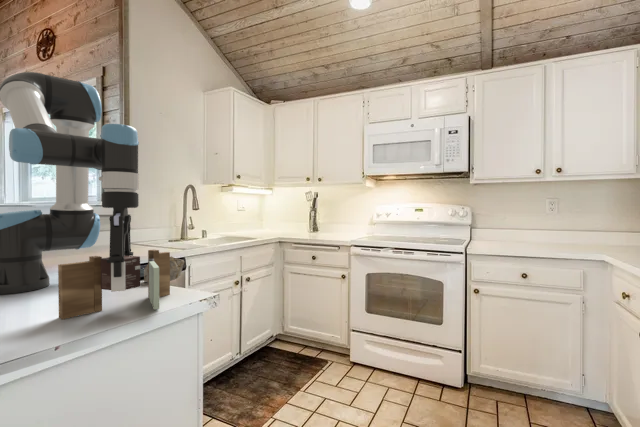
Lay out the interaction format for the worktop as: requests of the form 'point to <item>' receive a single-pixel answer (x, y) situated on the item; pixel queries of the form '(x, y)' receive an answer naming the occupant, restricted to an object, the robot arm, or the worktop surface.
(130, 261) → the box
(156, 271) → the door
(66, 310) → the partition
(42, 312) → the worktop surface
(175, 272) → the rock
